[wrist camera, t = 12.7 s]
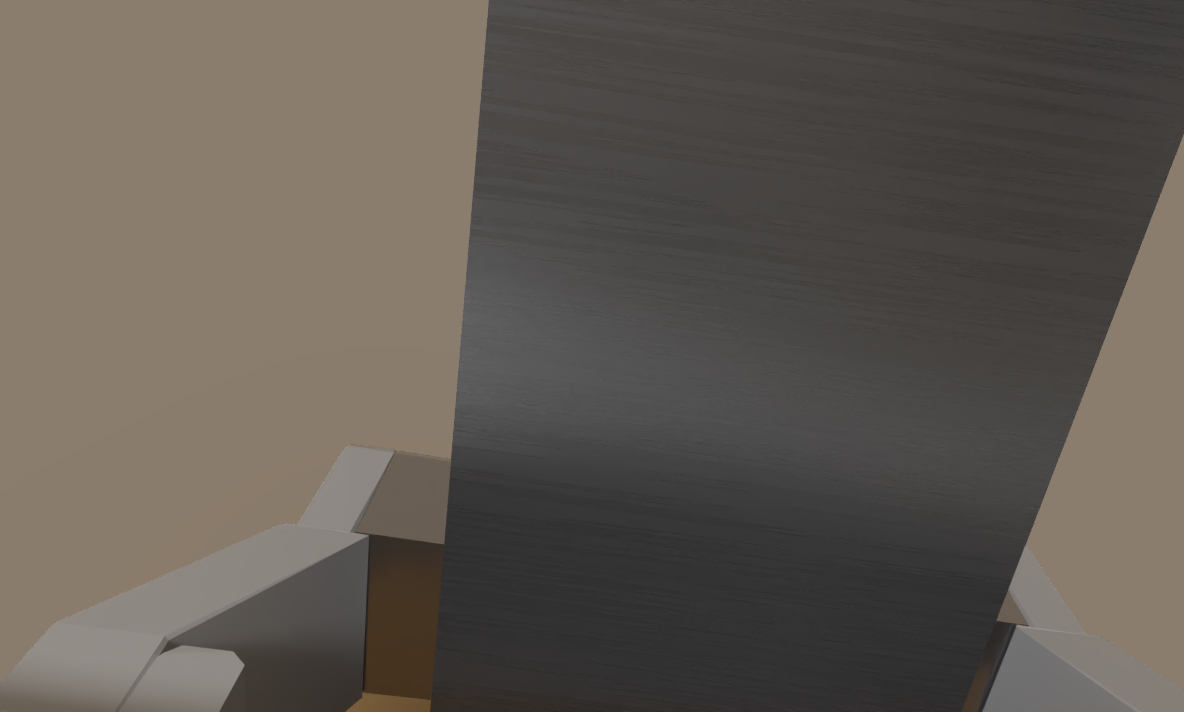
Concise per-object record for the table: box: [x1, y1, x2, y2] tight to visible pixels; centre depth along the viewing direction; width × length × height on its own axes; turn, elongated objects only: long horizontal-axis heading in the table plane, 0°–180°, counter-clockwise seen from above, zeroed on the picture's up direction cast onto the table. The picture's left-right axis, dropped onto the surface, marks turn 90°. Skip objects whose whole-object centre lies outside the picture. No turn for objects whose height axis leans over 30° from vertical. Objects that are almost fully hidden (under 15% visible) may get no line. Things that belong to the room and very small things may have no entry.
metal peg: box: [430, 0, 1184, 712], centre depth 9 cm, size 4×4×12 cm
